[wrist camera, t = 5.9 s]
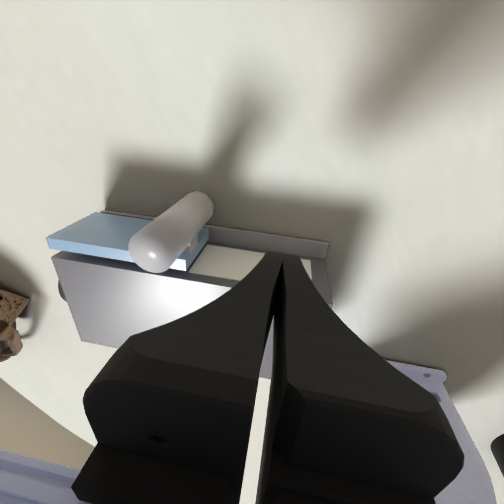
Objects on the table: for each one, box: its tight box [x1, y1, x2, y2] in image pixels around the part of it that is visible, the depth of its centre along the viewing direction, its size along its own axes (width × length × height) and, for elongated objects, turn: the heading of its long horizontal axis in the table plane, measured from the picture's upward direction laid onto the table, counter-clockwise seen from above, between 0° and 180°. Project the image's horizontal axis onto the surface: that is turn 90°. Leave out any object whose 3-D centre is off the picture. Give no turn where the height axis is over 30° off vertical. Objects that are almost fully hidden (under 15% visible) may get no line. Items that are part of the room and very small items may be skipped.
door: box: [46, 191, 214, 273], centre depth 14 cm, size 9×3×6 cm, turn 85°
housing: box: [51, 210, 333, 379], centre depth 18 cm, size 17×8×5 cm, turn 85°
